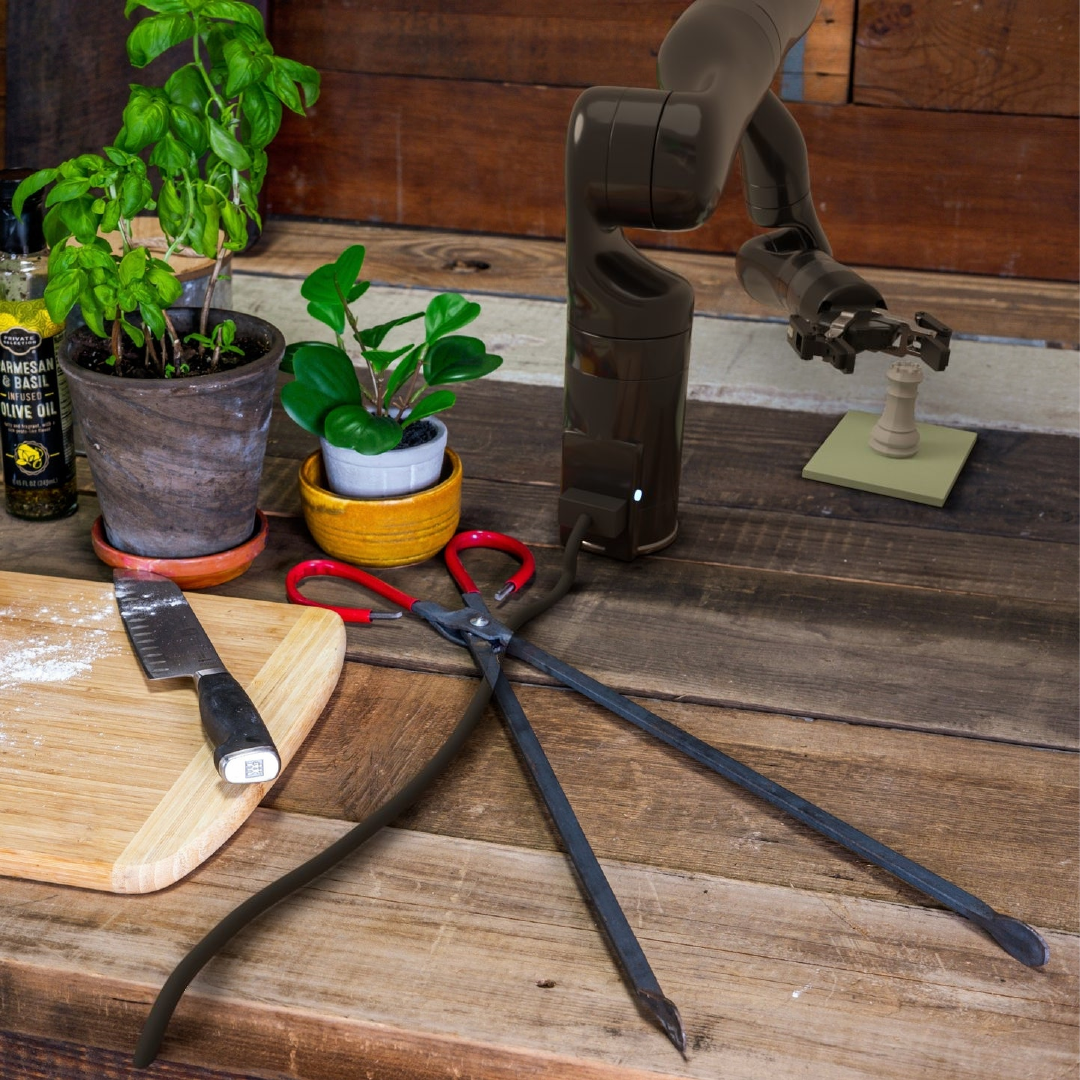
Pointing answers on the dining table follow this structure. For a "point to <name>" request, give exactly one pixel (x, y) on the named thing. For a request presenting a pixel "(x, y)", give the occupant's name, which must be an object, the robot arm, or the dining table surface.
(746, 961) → the dining table surface
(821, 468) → the mat
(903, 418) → the rook chess piece
